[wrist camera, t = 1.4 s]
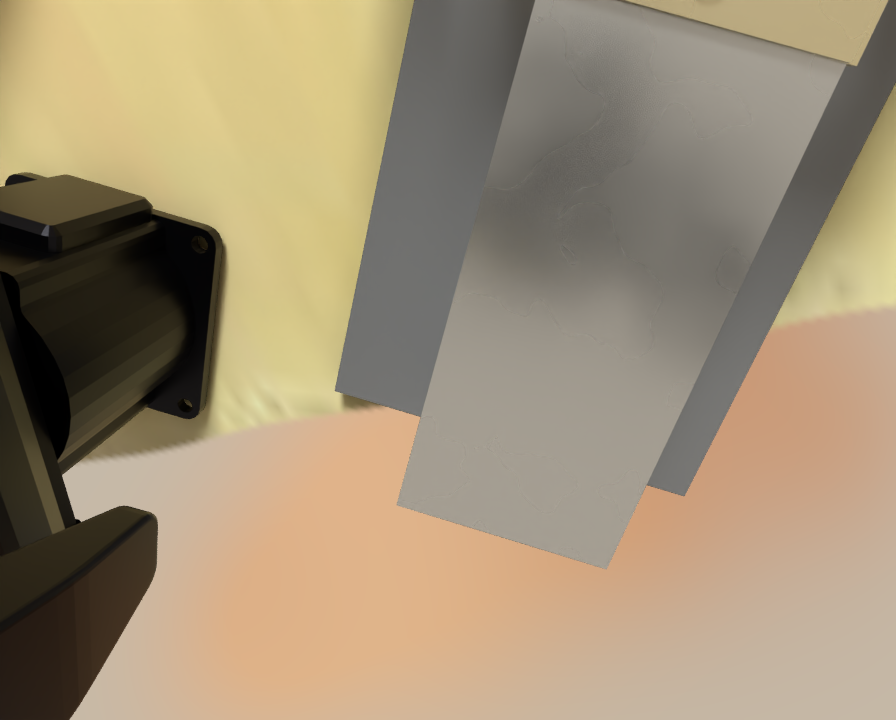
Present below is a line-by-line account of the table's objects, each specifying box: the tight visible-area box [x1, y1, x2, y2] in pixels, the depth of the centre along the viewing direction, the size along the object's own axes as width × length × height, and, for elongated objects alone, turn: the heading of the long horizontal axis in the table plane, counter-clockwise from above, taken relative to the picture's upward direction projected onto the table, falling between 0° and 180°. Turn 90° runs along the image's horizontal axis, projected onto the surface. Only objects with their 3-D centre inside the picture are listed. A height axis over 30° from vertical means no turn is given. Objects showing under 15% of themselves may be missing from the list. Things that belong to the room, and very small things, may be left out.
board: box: [335, 0, 896, 496], centre depth 15 cm, size 22×11×1 cm, turn 165°
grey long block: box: [397, 0, 888, 569], centre depth 14 cm, size 15×5×5 cm, turn 165°
